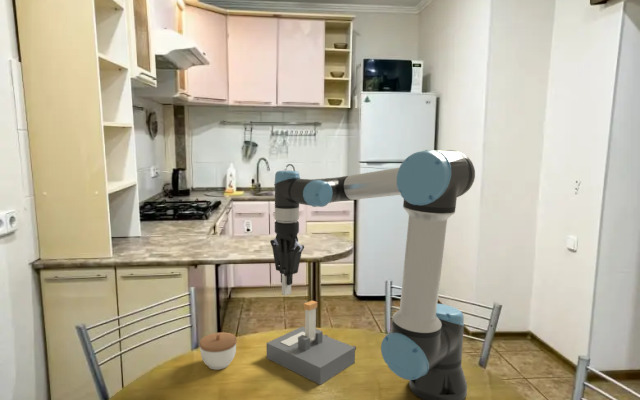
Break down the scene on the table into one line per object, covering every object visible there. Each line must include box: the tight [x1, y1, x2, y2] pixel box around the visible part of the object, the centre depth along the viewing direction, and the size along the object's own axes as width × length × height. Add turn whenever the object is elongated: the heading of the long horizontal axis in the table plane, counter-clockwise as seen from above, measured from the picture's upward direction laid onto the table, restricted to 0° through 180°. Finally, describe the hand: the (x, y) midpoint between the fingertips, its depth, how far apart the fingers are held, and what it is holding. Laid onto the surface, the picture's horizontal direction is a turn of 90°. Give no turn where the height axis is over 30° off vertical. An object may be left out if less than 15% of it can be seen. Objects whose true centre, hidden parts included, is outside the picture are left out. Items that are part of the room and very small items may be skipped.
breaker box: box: [266, 326, 356, 386], centre depth 129 cm, size 22×16×8 cm
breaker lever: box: [303, 300, 318, 342], centre depth 128 cm, size 2×4×12 cm, turn 139°
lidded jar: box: [199, 331, 237, 371], centre depth 126 cm, size 11×11×9 cm
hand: (286, 293), depth 134 cm, fingers closed
